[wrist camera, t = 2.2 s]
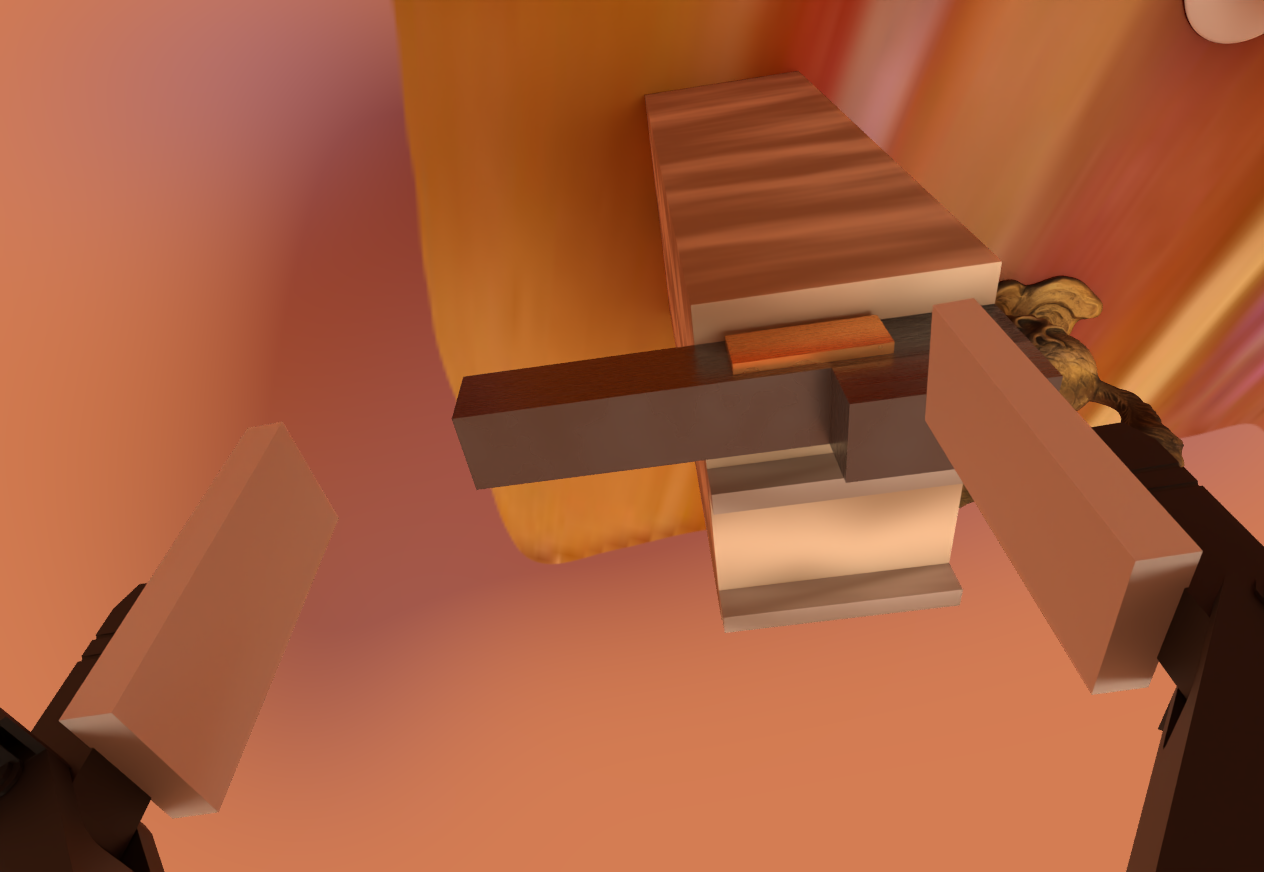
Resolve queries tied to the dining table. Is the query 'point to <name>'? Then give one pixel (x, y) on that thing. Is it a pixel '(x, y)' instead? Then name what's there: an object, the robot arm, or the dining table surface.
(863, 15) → the dining table surface
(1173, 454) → the figurine
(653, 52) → the dining table surface
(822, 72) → the dining table surface
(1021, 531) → the robot arm
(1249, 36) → the wineglass
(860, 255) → the stand
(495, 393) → the dark wood beam
